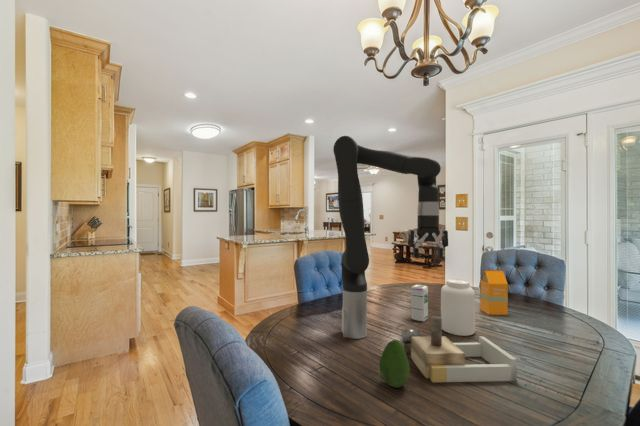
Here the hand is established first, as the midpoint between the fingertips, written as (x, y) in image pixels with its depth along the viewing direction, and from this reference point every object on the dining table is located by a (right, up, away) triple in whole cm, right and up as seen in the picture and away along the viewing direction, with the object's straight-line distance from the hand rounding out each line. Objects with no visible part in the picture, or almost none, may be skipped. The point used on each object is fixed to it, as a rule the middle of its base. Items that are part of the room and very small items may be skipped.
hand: (427, 258), depth 113 cm
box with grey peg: (-5, -30, -20) cm, 37 cm away
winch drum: (-9, -30, -9) cm, 32 cm away
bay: (+3, -30, -20) cm, 36 cm away
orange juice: (+43, -31, +33) cm, 62 cm away
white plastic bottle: (+15, -31, +10) cm, 35 cm away
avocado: (-20, -30, -30) cm, 47 cm away
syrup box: (+5, -31, +23) cm, 39 cm away
